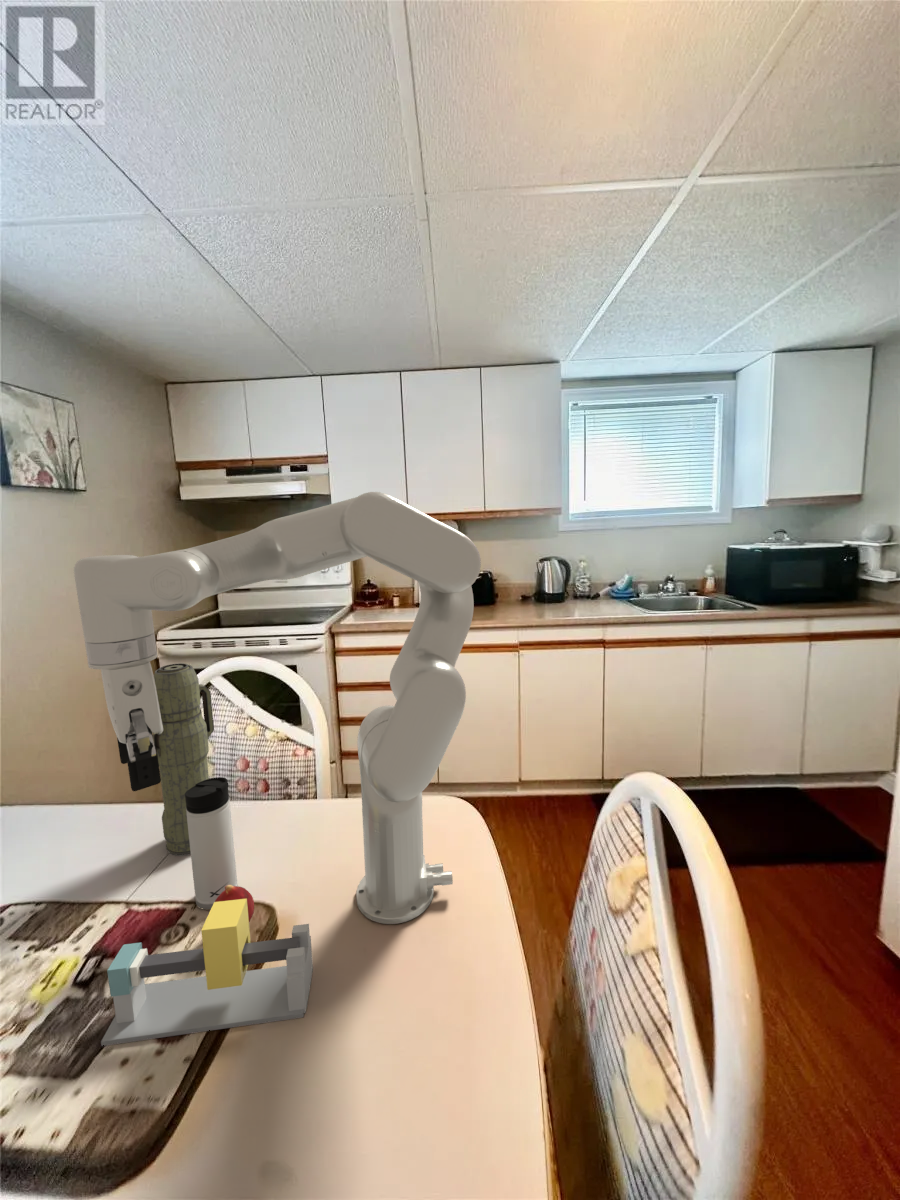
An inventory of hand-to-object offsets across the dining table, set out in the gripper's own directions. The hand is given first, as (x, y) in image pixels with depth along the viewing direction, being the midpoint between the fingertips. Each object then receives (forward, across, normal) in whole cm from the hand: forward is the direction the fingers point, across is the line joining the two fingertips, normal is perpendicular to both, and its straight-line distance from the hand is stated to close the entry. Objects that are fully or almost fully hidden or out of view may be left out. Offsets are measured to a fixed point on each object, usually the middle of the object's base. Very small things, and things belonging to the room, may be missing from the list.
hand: (140, 772), depth 65 cm
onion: (+28, -4, -8) cm, 29 cm away
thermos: (+28, +24, -9) cm, 38 cm away
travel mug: (+28, +6, -9) cm, 29 cm away
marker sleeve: (+23, -15, -5) cm, 28 cm away
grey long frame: (+27, -14, -3) cm, 31 cm away
